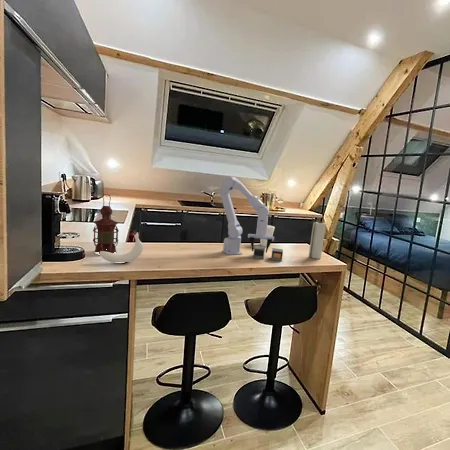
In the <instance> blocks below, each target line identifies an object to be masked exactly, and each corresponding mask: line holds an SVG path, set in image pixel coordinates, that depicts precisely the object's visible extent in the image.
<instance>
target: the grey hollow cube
mask: <svg viewBox="0 0 450 450" xmlns="http://www.w3.org/2000/svg"><path fill="white" fill-rule="evenodd" d="M265 253H266V247H265V246H261V245H260V246H259V245H258V246H257V245H255V246H254V249H253V257H252V258H253V259H261V260H264V258H265Z"/></svg>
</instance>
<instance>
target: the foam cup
mask: <svg viewBox="0 0 450 450" xmlns="http://www.w3.org/2000/svg"><path fill="white" fill-rule="evenodd" d="M275 228H276V227H275V226H273V225H267V234H266V235H267V236H273V235H274V231H275ZM273 237H274V236H273ZM259 241H260V243H259V245H260V247H265V248H266V247H267V240H266V239H259ZM269 247H271V244H270V245H269Z"/></svg>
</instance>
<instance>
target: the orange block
mask: <svg viewBox="0 0 450 450" xmlns="http://www.w3.org/2000/svg"><path fill="white" fill-rule="evenodd" d="M280 257H281V252H275V251H274V253H273V258H280Z"/></svg>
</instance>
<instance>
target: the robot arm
mask: <svg viewBox="0 0 450 450" xmlns="http://www.w3.org/2000/svg"><path fill="white" fill-rule="evenodd" d="M220 184H221V185H220V190H219V194H220V195H219V196H220V198H221V201H222V205H223V209H224V213H225V216H226V219H227V220H226V221H227V222H228V223H227V229H228V230H227V231H228V232H227V234H228V237H225V238H223V239H224V240H223V246H222V247H223V248H222V252H223V253H225V254H226V255H243V252H242V251H241V242H242V234H243V232H244V231H243V227H242V226H241V225H240V224H241V223H240V222H239V221H238V218H237V215H236V213H235V209H234V208H235V207H234V205H233V200H232V199H231V192H232V191H233V189H234V190H238V191H239V192H240V194H242V195H243V196H244V197H245V198H246V199H247V200H248V204H249V206H251V207H252V208H253V210H254V211H255V212H256V215H257V223H256V230H255V233H248V234H247V238H248V239H249V242H250V246H251V251H252V252H254V247H255V246H254V244H255V239H257V240H258V239H259V240H260V239H266V240H267V247H265V253H268V250H269V247H270V246H271V244H272V242H274V240H275V236H267V235H266V234H267V225H268V222H269V220H268V219H269V214H270V210H271V209H270V208H269V206H267V205H266V203H263V202H262V200H260V197H259V196H257V195H253V194H252V193H251V191H249V190H248V188H247V187H246V186H245V185H244V184H243V183H242V181H241V180H239V179H238V178H237V177H236V176H235V175H233V176H230V175H227V176H225V177H223V179H222V180H221V183H220ZM269 245H270V246H269Z"/></svg>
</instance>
